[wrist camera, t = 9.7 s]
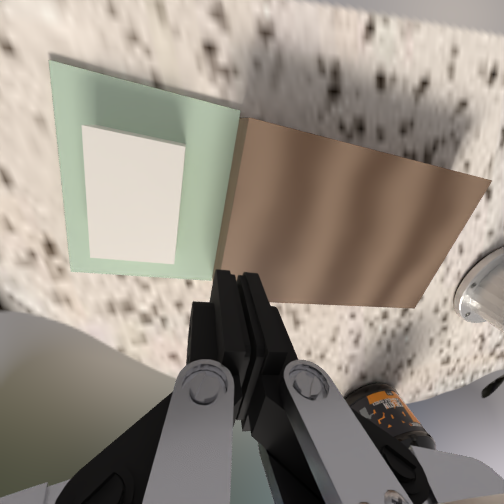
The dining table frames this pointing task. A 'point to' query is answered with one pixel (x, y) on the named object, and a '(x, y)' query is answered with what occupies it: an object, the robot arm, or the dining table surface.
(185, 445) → the robot arm
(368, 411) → the supplement container
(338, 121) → the dining table surface
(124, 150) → the white rectangular block
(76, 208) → the mat
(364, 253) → the deck
